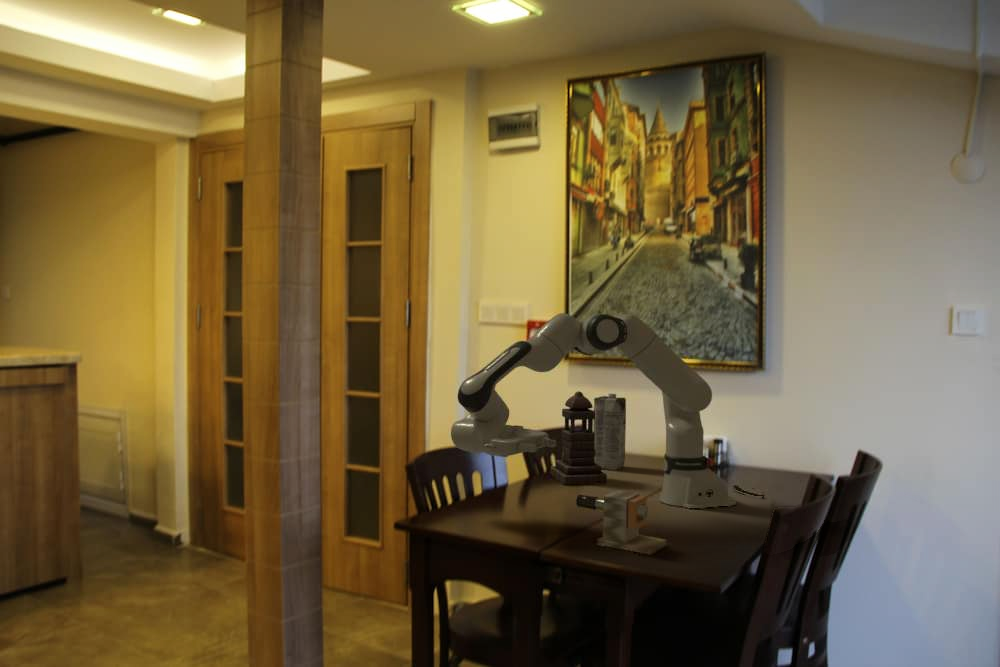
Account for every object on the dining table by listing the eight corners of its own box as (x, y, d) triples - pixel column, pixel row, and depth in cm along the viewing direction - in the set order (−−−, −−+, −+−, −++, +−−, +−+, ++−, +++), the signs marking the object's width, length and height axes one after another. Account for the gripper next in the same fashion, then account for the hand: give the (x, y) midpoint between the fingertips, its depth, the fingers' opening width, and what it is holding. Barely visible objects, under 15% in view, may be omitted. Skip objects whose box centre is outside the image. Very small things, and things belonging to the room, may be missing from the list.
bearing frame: (597, 545, 202) (598, 496, 202) (615, 535, 210) (616, 488, 210) (649, 555, 194) (651, 504, 194) (666, 545, 202) (667, 496, 202)
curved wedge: (743, 500, 253) (743, 495, 252) (731, 490, 266) (731, 485, 266) (770, 500, 252) (770, 495, 252) (757, 490, 266) (757, 485, 266)
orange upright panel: (627, 529, 199) (628, 501, 199) (639, 523, 205) (640, 495, 204) (633, 530, 198) (634, 502, 198) (645, 524, 204) (646, 496, 204)
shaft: (576, 507, 209) (576, 495, 209) (581, 505, 212) (582, 493, 211) (642, 519, 199) (643, 506, 199) (648, 516, 201) (648, 504, 201)
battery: (616, 471, 290) (618, 396, 288) (590, 468, 295) (591, 393, 294) (627, 467, 297) (628, 393, 296) (601, 464, 303) (602, 391, 302)
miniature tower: (607, 483, 270) (608, 393, 269) (564, 485, 267) (565, 394, 266) (590, 473, 286) (592, 388, 285) (549, 475, 283) (551, 389, 282)
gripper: (480, 433, 214) (524, 439, 207) (522, 424, 231) (564, 429, 224) (479, 457, 215) (524, 464, 207) (521, 446, 232) (564, 452, 224)
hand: (545, 446), depth 215 cm, fingers open, 8 cm apart
